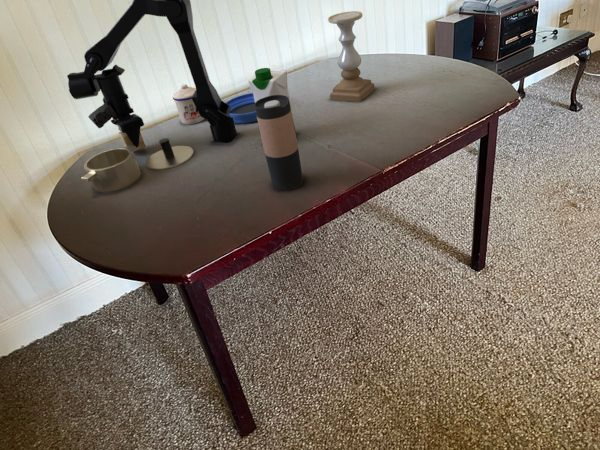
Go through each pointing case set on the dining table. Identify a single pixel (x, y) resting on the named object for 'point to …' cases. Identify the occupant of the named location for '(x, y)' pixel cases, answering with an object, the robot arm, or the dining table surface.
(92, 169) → the pot
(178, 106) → the teacup with lid
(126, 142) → the cube
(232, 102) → the bowl
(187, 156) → the lid
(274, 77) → the milk carton
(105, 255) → the dining table surface
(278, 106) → the travel mug
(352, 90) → the candle holder
